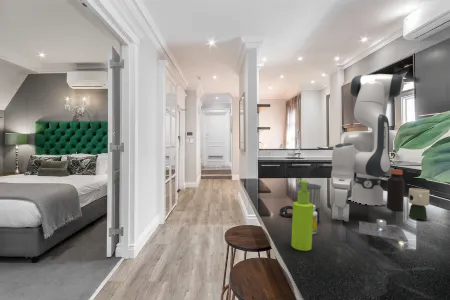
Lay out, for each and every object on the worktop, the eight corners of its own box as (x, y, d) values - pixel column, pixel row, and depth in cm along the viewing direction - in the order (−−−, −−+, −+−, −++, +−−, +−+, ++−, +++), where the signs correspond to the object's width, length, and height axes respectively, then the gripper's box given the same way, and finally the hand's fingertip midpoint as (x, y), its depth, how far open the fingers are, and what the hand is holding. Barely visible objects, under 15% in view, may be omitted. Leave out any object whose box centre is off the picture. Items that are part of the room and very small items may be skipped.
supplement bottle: (317, 231, 88) (319, 204, 88) (315, 235, 84) (316, 207, 83) (302, 228, 91) (303, 202, 91) (299, 232, 86) (300, 205, 86)
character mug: (405, 214, 114) (407, 186, 114) (425, 217, 110) (427, 188, 110) (409, 220, 105) (410, 190, 104) (430, 223, 101) (432, 192, 101)
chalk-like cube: (333, 215, 109) (333, 202, 109) (348, 217, 106) (349, 204, 106) (331, 218, 104) (332, 205, 104) (348, 221, 101) (349, 207, 101)
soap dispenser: (306, 241, 78) (308, 179, 78) (314, 250, 72) (317, 182, 71) (288, 241, 78) (290, 178, 78) (294, 250, 71) (297, 182, 71)
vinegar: (406, 211, 120) (408, 170, 119) (392, 210, 120) (394, 170, 119) (396, 207, 127) (398, 169, 126) (383, 207, 127) (385, 168, 126)
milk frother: (321, 226, 94) (323, 187, 93) (279, 222, 97) (281, 185, 97) (315, 215, 108) (317, 182, 107) (279, 212, 111) (280, 179, 111)
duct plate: (359, 222, 100) (359, 212, 100) (400, 229, 93) (401, 218, 93) (359, 233, 88) (360, 221, 87) (407, 241, 81) (408, 229, 81)
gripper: (335, 177, 115) (334, 206, 116) (332, 183, 97) (330, 218, 98) (350, 179, 112) (349, 209, 113) (349, 185, 94) (348, 220, 95)
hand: (340, 213), depth 105 cm, fingers closed on chalk-like cube, 6 cm apart
